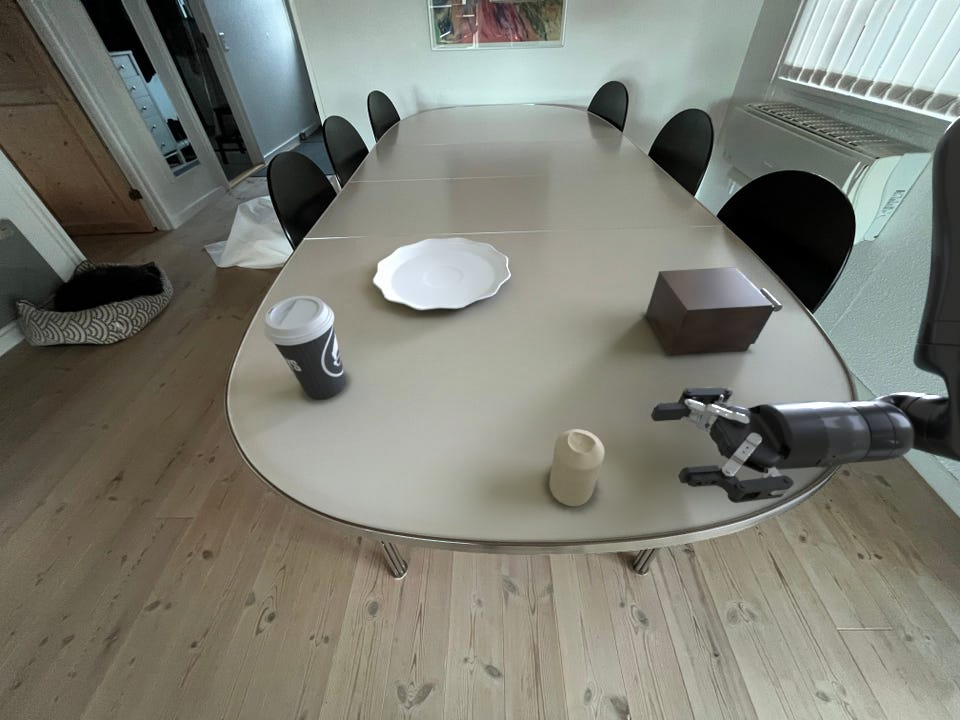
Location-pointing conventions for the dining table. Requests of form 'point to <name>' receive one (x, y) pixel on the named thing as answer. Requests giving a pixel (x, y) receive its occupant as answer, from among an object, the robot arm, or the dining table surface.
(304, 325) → the coffee cup
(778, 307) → the drawer
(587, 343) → the dining table surface
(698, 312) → the cabinet
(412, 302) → the plate
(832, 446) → the robot arm
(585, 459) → the candle
